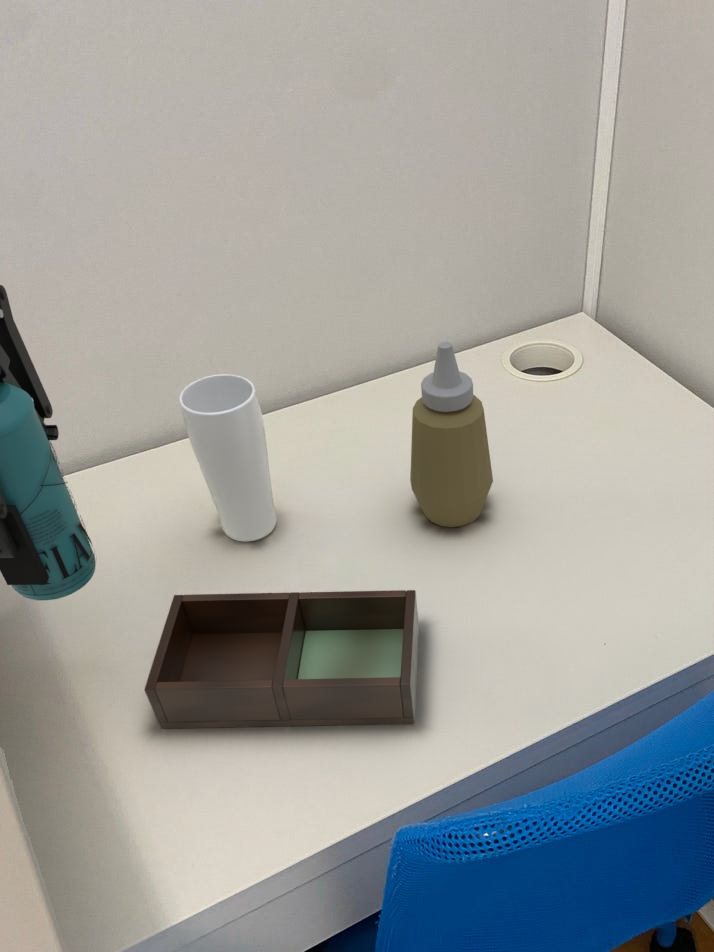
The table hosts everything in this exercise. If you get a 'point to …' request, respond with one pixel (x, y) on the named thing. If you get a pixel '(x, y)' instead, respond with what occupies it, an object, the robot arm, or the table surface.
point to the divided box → (287, 660)
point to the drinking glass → (231, 452)
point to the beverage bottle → (41, 499)
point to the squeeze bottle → (449, 445)
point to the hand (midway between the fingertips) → (43, 548)
